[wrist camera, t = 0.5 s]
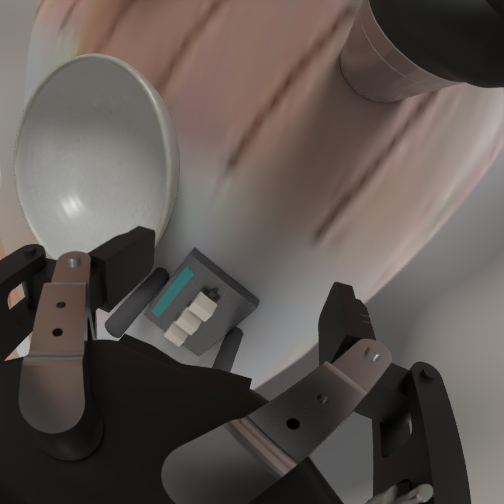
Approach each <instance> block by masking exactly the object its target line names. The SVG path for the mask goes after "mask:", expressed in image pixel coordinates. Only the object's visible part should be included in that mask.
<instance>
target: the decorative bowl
mask: <svg viewBox="0 0 504 504" xmlns="http://www.w3.org/2000/svg"><path fill="white" fill-rule="evenodd" d="M179 173H180V158H179V147H178V140H177V135H176V131H175V127H174V124H173V121H172V118H171V116H170V114H169V111H168V109H167V107H166V105H165V103H164V101H163V100H162V98H161V97H160V95H159V94H158V92H157V91H156V89H155V88H154V87H153V86H152V84H151V83H150V82H149V81H148V80H147V79H146V78H145V77H144V76H143V75H142V74H141V73H140V72H139V71H137V70H136V69H135V68H134V67H132V66H131V65H129V64H128V63H126V62H124V61H122V60H120V59H118V58H116V57H113V56H110V55H106V54H97V53H93V54H84V55H80V56H76V57H74V58H71V59H69V60H67V61H65V62H63V63H61V64H60V65H58V66H57V67H56V68H54V69H53V70H52V71H51V72H50V73H49V74H48V75H47V76H46V77H45V78H44V79H43V80H42V81H41V82H40V84H39V85H38V86H37V87H36V89H35V90H34V92H33V93H32V95H31V97H30V99H29V101H28V102H27V104H26V107H25V109H24V111H23V114H22V117H21V120H20V123H19V126H18V130H17V135H16V141H15V150H14V177H15V185H16V191H17V196H18V200H19V203H20V207H21V210H22V212H23V215H24V218H25V220H26V223H27V225H28V227H29V229H30V231H31V232H32V234H33V236H34V238H35V239H36V241H37V242H38V244H39V245H42V246H43V247H44V248H45V252H46V254H47V255H48V256H49V257H50V258H51V259H54V260H58V258H59V257H60V256H61V255H62V254H64V253H67V252H71V251H81V252H85V253H89V252H90V251H92V250H93V249H95V248H97V247H98V246H100V245H102V244H104V243H105V242H107V241H109V240H110V239H112V238H113V237H115V236H117V235H120V234H124V233H127V232H129V231H130V230H132V229H134V228H136V227H137V226H142V227H146V228H149V229H152V230H154V231H155V234H156V237H155V248H156V246H157V245H158V243H159V241H160V239H161V237H162V235H163V233H164V231H165V229H166V227H167V224H168V222H169V219H170V216H171V213H172V210H173V207H174V203H175V200H176V195H177V190H178V183H179Z"/></svg>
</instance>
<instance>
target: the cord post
mask: <svg viewBox="0 0 504 504" xmlns="http://www.w3.org/2000/svg"><path fill="white" fill-rule="evenodd" d="M242 336H243V332H242V331H241V329H239V328H237V327H234V328H233V329H232V330H231V331H229V332H228V333H227V334H226V335H225V338H224V340H223V342H222V345H221V347H220V350H219V352H218V355H217V357H216V359H215V362H214V364H213V367H212V368H214V369H220V370H223V371H226V372H230V371H231V368H232V365H233V362H234V359H235V356H236V353H237V351H238V348H239V345H240V342H241V339H242Z"/></svg>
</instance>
